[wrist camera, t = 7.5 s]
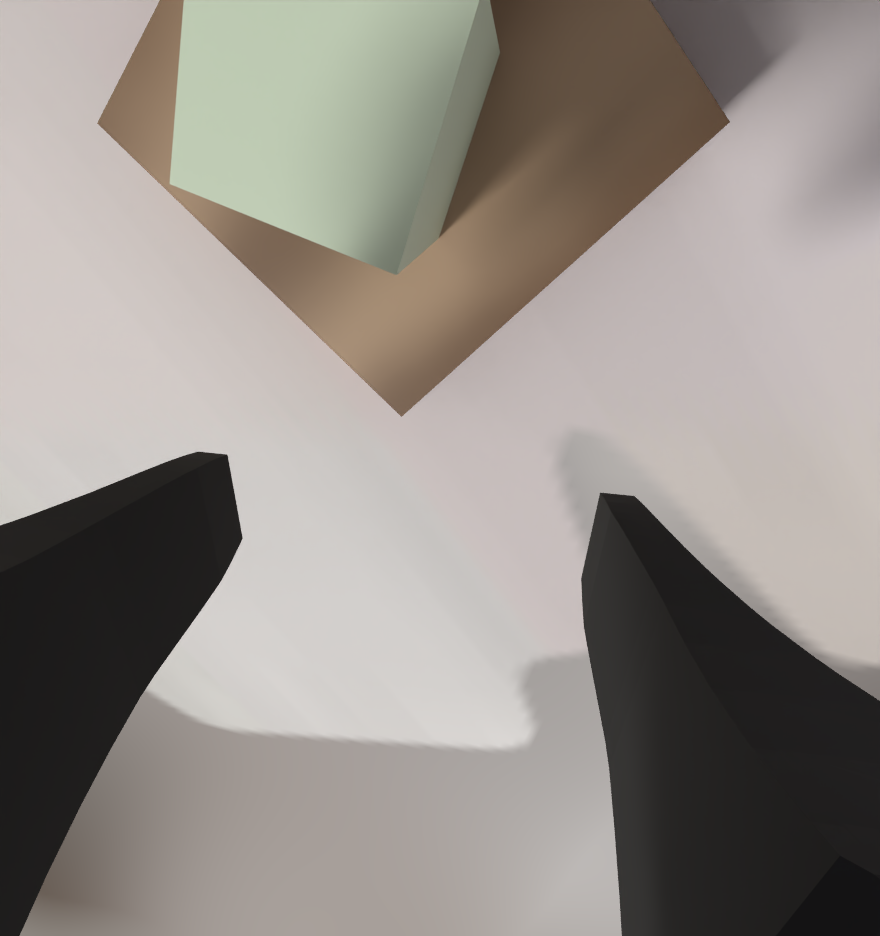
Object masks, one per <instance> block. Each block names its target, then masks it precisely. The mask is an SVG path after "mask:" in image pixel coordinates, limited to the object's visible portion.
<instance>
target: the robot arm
mask: <svg viewBox="0 0 880 936" xmlns="http://www.w3.org/2000/svg"><path fill="white" fill-rule="evenodd" d="M241 541H242V533H241V528H240V522H239V516H238V511H237V505H236V500H235V494H234V489H233V483H232V478H231V472H230V467H229V461H228V456H227V455H225V454H215V453H205V452H196V453H192V454H188V455H185V456H182V457H179V458H176V459H174V460H171V461H168V462H165V463H163V464H160V465H158V466H155V467H153V468H150V469H148V470H145V471H143V472H140V473H138V474H135V475H133V476H130V477H128V478H125V479H123V480H120V481H118V482H116V483H113V484H111V485H108V486H106V487H103V488H101V489H98V490H96V491H93V492H91V493H88V494H86V495H83V496H80V497H78V498H75V499H72V500H70V501H67V502H64V503H62V504H59V505H56V506H54V507H51V508H48V509H46V510H43V511H40V512H38V513H35V514H32V515H30V516H27V517H24V518H21V519H18V520H15V521H13V522H10V523H7V524H3V525H0V936H19V935H20V933H21V931H22V929H23V927H24V924H25V922H26V920H27V917H28V915H29V913H30V911H31V909H32V906H33V904H34V902H35V900H36V898H37V895H38V893H39V891H40V889H41V886H42V884H43V882H44V879H45V877H46V875H47V873H48V871H49V869H50V867H51V865H52V863H53V861H54V859H55V857H56V855H57V853H58V851H59V849H60V847H61V845H62V843H63V840H64V838H65V836H66V834H67V832H68V830H69V828H70V826H71V824H72V822H73V820H74V818H75V816H76V814H77V812H78V810H79V808H80V806H81V804H82V802H83V800H84V798H85V796H86V794H87V793H88V791H89V789H90V787H91V785H92V783H93V781H94V779H95V777H96V776H97V773H98V772H99V770H100V768H101V766H102V764H103V762H104V761H105V759H106V756H107V755H108V753H109V751H110V749H111V747H112V746H113V744H114V742H115V740H116V739H117V736H118V735H119V733H120V732H121V730H122V728H123V726H124V725H125V723H126V721H127V719H128V717H129V716H130V714H131V712H132V710H133V709H134V707H135V705H136V704H137V702H138V700H139V698H140V696H141V695H142V694H143V692H144V691H145V689H146V688H147V686H148V684H149V683H150V681H151V680H152V678H153V677H154V675H155V674H156V672H157V671H158V670H159V668H160V667H161V665H162V664H163V663H164V661H165V660H166V658H167V657H168V656H169V654H170V653H171V651H172V650H173V649H174V647H175V646H176V644H177V643H178V642H179V640H180V639H181V637H182V636H183V635H184V633H185V632H186V630H187V629H188V628H189V626H190V625H191V623H192V622H193V621H194V619H195V618H196V616H197V615H198V614H199V612H200V611H201V609H202V608H203V606H204V605H205V603H206V602H207V601H208V599H209V598H210V596H211V595H212V593H213V592H214V591H215V589H216V588H217V586H218V585H219V583H220V582H221V580H222V578H223V576H224V575H225V573H226V571H227V569H228V567H229V565H230V563H231V561H232V559H233V557H234V555H235V553H236V551H237V549H238V547H239V545H240V543H241ZM581 582H582V604H583V619H584V629H585V635H586V641H587V646H588V652H589V657H590V663H591V668H592V673H593V678H594V684H595V689H596V694H597V700H598V705H599V710H600V716H601V721H602V726H603V731H604V736H605V741H606V749H607V756H608V762H609V771H610V782H611V793H612V805H613V816H614V827H615V840H616V854H617V867H618V881H619V895H620V909H621V910H620V911H621V928H622V936H880V701H879V700H877V699H876V698H874V697H873V696H871V695H870V694H868V693H867V692H865V691H864V690H862V689H861V688H859V687H858V686H856V685H854V684H853V683H851V682H850V681H848V680H847V679H845V678H844V677H842V676H841V675H839V674H838V673H836V672H835V671H834V670H832V669H831V668H829V667H828V666H826V665H825V664H824V663H822V662H821V661H819V660H818V659H816V658H815V657H814V656H812V655H811V654H809V653H808V652H807V651H805V650H804V649H803V648H801V647H800V646H799V645H797V644H796V643H795V642H793V641H792V640H791V639H790V638H788V637H787V636H786V635H784V634H783V633H782V632H780V631H779V630H778V629H776V628H775V627H774V626H772V625H771V624H770V623H769V622H767V621H766V620H765V619H764V618H762V617H761V616H760V615H759V614H757V613H756V612H755V611H754V610H753V609H751V608H750V607H749V606H748V605H747V604H746V603H744V602H743V601H742V600H741V599H740V598H739V597H738V596H736V595H735V594H734V593H733V592H732V591H731V590H730V589H728V588H727V587H726V586H725V585H724V584H723V583H722V582H720V581H719V580H718V579H717V578H716V577H715V576H714V575H713V574H712V573H711V572H710V571H709V570H708V569H706V568H705V567H704V566H703V565H702V564H701V563H700V562H699V561H698V560H697V559H696V558H695V557H694V556H693V555H692V554H691V553H690V552H689V551H688V550H687V549H686V548H685V547H684V546H683V545H682V544H681V543H680V542H679V541H678V540H677V539H676V538H675V537H674V536H673V535H672V534H671V533H670V532H669V531H668V530H667V529H666V528H665V527H664V526H663V525H662V524H661V523H660V522H659V521H658V519H657V518H655V516H654V515H653V514H652V513H651V512H650V511H649V510H648V509H647V508H646V507H645V506H644V505H643V504H642V503H641V502H640V501H639V500H638V499H637V498H636V497H635V496H627V495H617V494H608V493H600V496H599V501H598V505H597V510H596V514H595V519H594V523H593V528H592V532H591V537H590V541H589V546H588V551H587V555H586V560H585V564H584V569H583V573H582V578H581Z"/></svg>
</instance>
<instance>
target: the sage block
mask: <svg viewBox="0 0 880 936" xmlns="http://www.w3.org/2000/svg"><path fill="white" fill-rule="evenodd" d="M499 54H500V50H499V44H498V39H497V34H496V29H495V24H494V19H493V14H492V9H491V4H490V0H184V3H183V16H182V29H181V42H180V55H179V68H178V81H177V94H176V106H175V119H174V132H173V145H172V158H171V171H170V184H171V185H173V186H176V187H178V188H181V189H183V190H186V191H188V192H191V193H193V194H196V195H198V196H201V197H203V198H206V199H208V200H211V201H213V202H216V203H218V204H220V205H223V206H225V207H228V208H230V209H233V210H235V211H238V212H240V213H243V214H245V215H248V216H250V217H253V218H255V219H258V220H260V221H263V222H265V223H268V224H270V225H273V226H275V227H278V228H280V229H283V230H285V231H288V232H290V233H293V234H295V235H298V236H300V237H303V238H305V239H308V240H310V241H313V242H315V243H317V244H320V245H322V246H325V247H327V248H330V249H332V250H335V251H337V252H340V253H342V254H345V255H347V256H350V257H352V258H355V259H357V260H360V261H362V262H365V263H367V264H370V265H372V266H375V267H377V268H380V269H382V270H385V271H387V272H390V273H392V274H395V275H397V274H398V273H400V272H401V271H402V270H403V269H404V268H405V267H406V266H408V265H409V264H410V263H411V262H412V261H413V260H414V259H416V258H417V257H418V256H419V255H420V254H421V253H422V252H424V251H425V250H426V249H427V248H428V247H429V246H430V245H432V244H433V243H434V242H435V241H436V240H437V239H438V238H439V236H440V233H441V230H442V227H443V224H444V221H445V218H446V215H447V212H448V209H449V206H450V203H451V200H452V197H453V194H454V190H455V187H456V184H457V181H458V178H459V175H460V172H461V169H462V166H463V163H464V160H465V157H466V154H467V151H468V148H469V145H470V142H471V139H472V136H473V133H474V130H475V127H476V124H477V121H478V118H479V115H480V112H481V109H482V106H483V103H484V100H485V97H486V94H487V90H488V87H489V84H490V81H491V78H492V75H493V72H494V69H495V66H496V63H497V60H498V57H499Z"/></svg>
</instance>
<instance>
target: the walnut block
mask: <svg viewBox="0 0 880 936" xmlns="http://www.w3.org/2000/svg"><path fill="white" fill-rule="evenodd" d="M183 3H184V0H160V1H159V3H158V5H157V7H156V9H155V11H154V13H153V15H152V17H151V19H150V21H149V23H148V25H147V27H146V29H145V31H144V33H143V35H142V37H141V39H140V41H139V42H138V44H137V46H136V48H135V50H134V52H133V54H132V56H131V58H130V60H129V62H128V64H127V66H126V68H125V70H124V72H123V74H122V76H121V78H120V80H119V82H118V84H117V86H116V88H115V90H114V92H113V94H112V95H111V97H110V99H109V101H108V103H107V105H106V107H105V109H104V111H103V113H102V115H101V117H100V119H99V121H98V124H99V125H100V126H101V127H102V128H103V129H104V130H105V131H106V132H107V133H108V134H109V135H110V136H111V137H112V138H113V139H114V140H115V141H116V142H117V143H118V144H119V145H120V146H121V147H122V148H123V149H125V150H126V151H127V152H128V153H129V154H130V155H131V156H132V157H133V158H134V159H135V160H136V161H137V162H138V163H139V164H140V165H141V166H142V167H143V168H144V169H145V170H146V171H147V172H148V173H149V174H150V175H151V176H153V177H154V178H155V179H156V180H157V181H158V182H159V183H160V184H161V185H162V186H163V187H164V188H165V189H166V190H167V191H168V192H169V193H170V194H171V195H172V196H173V197H174V198H175V199H176V200H177V201H178V202H179V203H181V204H182V205H183V206H184V207H185V208H186V209H187V210H188V211H189V212H190V213H191V214H192V215H193V216H194V217H195V218H196V219H197V220H198V221H199V222H200V223H201V224H202V225H203V226H204V227H205V228H206V229H207V230H208V231H210V232H211V233H212V234H213V235H214V236H215V237H216V238H217V239H218V240H219V241H220V242H221V243H222V244H223V245H224V246H225V247H226V248H227V249H228V250H229V251H230V252H231V253H232V254H233V255H234V256H235V257H236V258H238V259H239V260H240V261H241V262H242V263H243V264H244V265H245V266H246V267H247V268H248V269H249V270H250V271H251V272H252V273H253V274H254V275H255V276H256V277H257V278H258V279H259V280H260V281H261V282H262V283H263V284H264V285H266V286H267V287H268V288H269V289H270V290H271V291H272V292H273V293H274V294H275V295H276V296H277V297H278V298H279V299H280V300H281V301H282V302H283V303H284V304H285V305H286V306H287V307H288V308H289V309H290V310H291V311H292V312H294V313H295V314H296V315H297V316H298V317H299V318H300V319H301V320H302V321H303V322H304V323H305V324H306V325H307V326H308V327H309V328H310V329H311V330H312V331H313V332H314V333H315V334H316V335H317V336H318V337H319V338H320V339H322V340H323V341H324V342H325V343H326V344H327V345H328V346H329V347H330V348H331V349H332V350H333V351H334V352H335V353H336V354H337V355H338V356H339V357H340V358H341V359H342V360H343V361H344V362H345V363H346V364H347V365H348V366H350V367H351V368H352V369H353V370H354V371H355V372H356V373H357V374H358V375H359V376H360V377H361V378H362V379H363V380H364V381H365V382H366V383H367V384H368V385H369V386H370V387H371V388H372V389H373V390H374V391H375V392H376V393H378V394H379V395H380V396H381V397H382V398H383V399H384V400H385V401H386V402H387V403H388V404H389V405H390V406H391V407H392V408H393V409H394V410H395V411H396V412H397V413H398V414H399V415H400V416H401V417H402V416H403V415H404V414H405V413H406V412H407V411H408V410H410V409H411V408H412V407H413V406H414V405H415V404H416V403H417V402H418V401H420V400H421V399H422V398H423V397H424V396H425V395H426V394H427V393H428V392H430V391H431V390H432V389H433V388H434V387H435V386H436V385H437V384H438V383H440V382H441V381H442V380H443V379H444V378H445V377H446V376H447V375H449V374H450V373H451V372H452V371H453V370H454V369H455V368H456V367H457V366H459V365H460V364H461V363H462V362H463V361H464V360H465V359H466V358H467V357H469V356H470V355H471V354H472V353H473V352H474V351H475V350H476V349H477V348H479V347H480V346H481V345H482V344H483V343H484V342H485V341H486V340H488V339H489V338H490V337H491V336H492V335H493V334H494V333H495V332H496V331H498V330H499V329H500V328H501V327H502V326H503V325H504V324H505V323H506V322H508V321H509V320H510V319H511V318H512V317H513V316H514V315H515V314H516V313H518V312H519V311H520V310H521V309H522V308H523V307H524V306H525V305H527V304H528V303H529V302H530V301H531V300H532V299H533V298H534V297H535V296H537V295H538V294H539V293H540V292H541V291H542V290H543V289H544V288H545V287H547V286H548V285H549V284H550V283H551V282H552V281H553V280H554V279H555V278H557V277H558V276H559V275H560V274H561V273H562V272H563V271H564V270H566V269H567V268H568V267H569V266H570V265H571V264H572V263H573V262H574V261H576V260H577V259H578V258H579V257H580V256H581V255H582V254H583V253H584V252H586V251H587V250H588V249H589V248H590V247H591V246H592V245H593V244H594V243H596V242H597V241H598V240H599V239H600V238H601V237H602V236H603V235H604V234H606V233H607V232H608V231H609V230H610V229H611V228H612V227H613V226H615V225H616V224H617V223H618V222H619V221H620V220H621V219H622V218H623V217H625V216H626V215H627V214H628V213H629V212H630V211H631V210H632V209H633V208H635V207H636V206H637V205H638V204H639V203H640V202H641V201H642V200H643V199H645V198H646V197H647V196H648V195H649V194H650V193H651V192H652V191H654V190H655V189H656V188H657V187H658V186H659V185H660V184H661V183H662V182H664V181H665V180H666V179H667V178H668V177H669V176H670V175H671V174H672V173H674V172H675V171H676V170H677V169H678V168H679V167H680V166H681V165H682V164H684V163H685V162H686V161H687V160H688V159H689V158H690V157H691V156H693V155H694V154H695V153H696V152H697V151H698V150H699V149H700V148H701V147H703V146H704V145H705V144H706V143H707V142H708V141H709V140H710V139H711V138H713V137H714V136H715V135H716V134H717V133H718V132H719V131H720V130H721V129H723V128H724V127H725V126H726V125H727V124H728V123H729V122H730V121H729V120H728V118H727V117H726V115H725V114H724V112H723V111H722V109H721V108H720V106H719V105H718V103H717V102H716V100H715V98H714V97H713V95H712V94H711V92H710V91H709V89H708V88H707V86H706V85H705V83H704V82H703V80H702V79H701V77H700V76H699V74H698V73H697V71H696V70H695V68H694V67H693V65H692V63H691V62H690V60H689V59H688V57H687V56H686V54H685V53H684V51H683V50H682V48H681V47H680V45H679V44H678V42H677V41H676V39H675V38H674V36H673V35H672V33H671V32H670V30H669V28H668V27H667V25H666V24H665V22H664V21H663V19H662V18H661V16H660V15H659V13H658V12H657V10H656V9H655V7H654V6H653V4H652V3H651V1H650V0H490V4H491V9H492V14H493V19H494V24H495V29H496V34H497V39H498V44H499V50H500V54H499V57H498V60H497V63H496V66H495V69H494V72H493V75H492V78H491V81H490V84H489V87H488V90H487V94H486V97H485V100H484V103H483V106H482V109H481V112H480V115H479V118H478V121H477V124H476V127H475V130H474V133H473V136H472V139H471V142H470V145H469V148H468V151H467V154H466V157H465V160H464V163H463V166H462V169H461V172H460V175H459V178H458V181H457V184H456V187H455V190H454V194H453V197H452V200H451V203H450V206H449V209H448V212H447V215H446V218H445V221H444V224H443V227H442V230H441V233H440V236H439V238H438V239H437V240H436V241H435V242H434V243H433V244H432V245H430V246H429V247H428V248H427V249H426V250H425V251H424V252H422V253H421V254H420V255H419V256H418V257H417V258H416V259H414V260H413V261H412V262H411V263H410V264H409V265H408V266H406V267H405V268H404V269H403V270H402V271H401V272H400V273H398V274H397V275H395V274H392V273H390V272H387V271H385V270H382V269H380V268H377V267H375V266H372V265H370V264H367V263H365V262H362V261H360V260H357V259H355V258H352V257H350V256H347V255H345V254H342V253H340V252H337V251H335V250H332V249H330V248H327V247H325V246H322V245H320V244H317V243H315V242H313V241H310V240H308V239H305V238H303V237H300V236H298V235H295V234H293V233H290V232H288V231H285V230H283V229H280V228H278V227H275V226H273V225H270V224H268V223H265V222H263V221H260V220H258V219H255V218H253V217H250V216H248V215H245V214H243V213H240V212H238V211H235V210H233V209H230V208H228V207H225V206H223V205H220V204H218V203H216V202H213V201H211V200H208V199H206V198H203V197H201V196H198V195H196V194H193V193H191V192H188V191H186V190H183V189H181V188H178V187H176V186H173V185H171V184H170V171H171V158H172V145H173V132H174V119H175V106H176V94H177V81H178V68H179V55H180V42H181V29H182V16H183Z"/></svg>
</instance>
